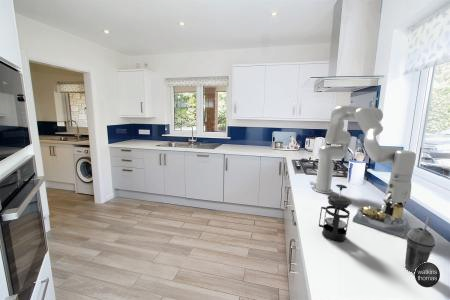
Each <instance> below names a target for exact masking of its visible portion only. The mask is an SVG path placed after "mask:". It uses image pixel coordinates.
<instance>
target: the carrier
mask: <svg viewBox="0 0 450 300" xmlns="http://www.w3.org/2000/svg"><path fill="white" fill-rule="evenodd" d="M385 209H386V205H385V204H382V205H381V207H376V206H370V205H364V206H360V207H359V208H358V209H357V212H356V214H354V216H353V218H352V222H354V223H357V224H360V225H363V226H366V227H369V228H372V229H375V230H378V231H381V232H385V233H387V234H390V235H393V236H396V237H400V238H402V239H404V237H405V233H406V228H407V223H408V219H407V218H406V219H405V218H404V217H401V218H394V217H390V216H388V215H386V213H385Z"/></svg>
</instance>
